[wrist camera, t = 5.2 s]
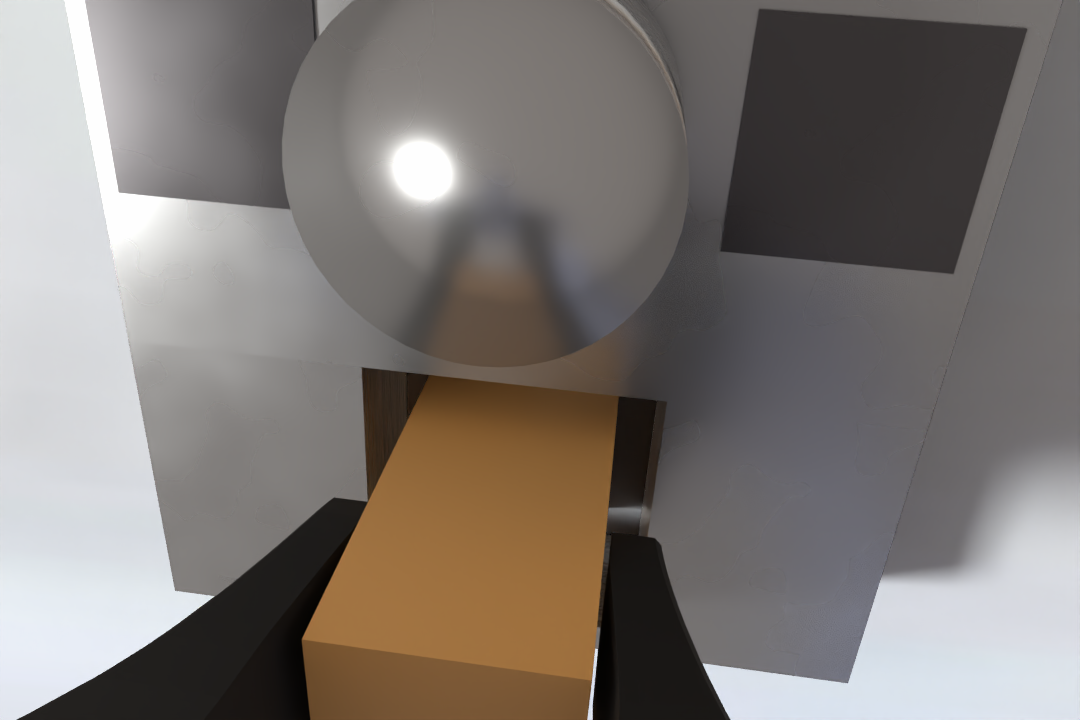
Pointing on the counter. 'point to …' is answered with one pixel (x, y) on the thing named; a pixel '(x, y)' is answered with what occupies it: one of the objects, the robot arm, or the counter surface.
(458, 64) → the gray tray with knob
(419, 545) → the orange rectangular box
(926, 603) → the counter surface
